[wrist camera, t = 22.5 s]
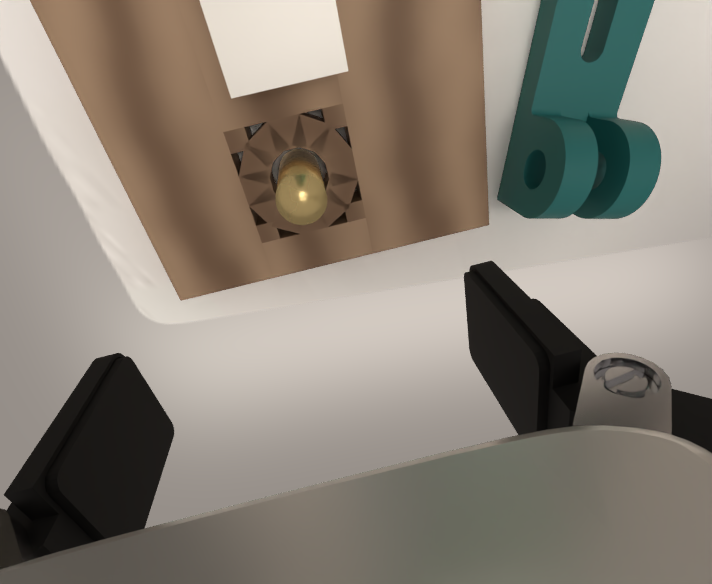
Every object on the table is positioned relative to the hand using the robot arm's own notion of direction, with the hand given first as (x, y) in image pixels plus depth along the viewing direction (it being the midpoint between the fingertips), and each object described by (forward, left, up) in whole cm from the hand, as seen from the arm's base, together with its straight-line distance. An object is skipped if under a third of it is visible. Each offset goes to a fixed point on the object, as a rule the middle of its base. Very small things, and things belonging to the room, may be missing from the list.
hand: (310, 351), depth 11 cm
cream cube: (-1, -9, -20) cm, 22 cm away
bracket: (-21, -2, -23) cm, 31 cm away
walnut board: (-1, -3, -22) cm, 23 cm away
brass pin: (0, 0, -22) cm, 22 cm away
